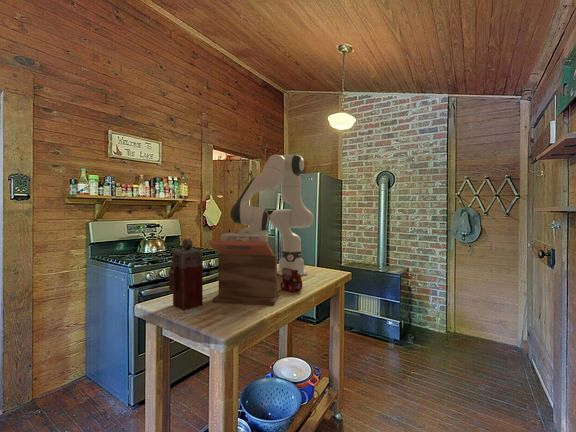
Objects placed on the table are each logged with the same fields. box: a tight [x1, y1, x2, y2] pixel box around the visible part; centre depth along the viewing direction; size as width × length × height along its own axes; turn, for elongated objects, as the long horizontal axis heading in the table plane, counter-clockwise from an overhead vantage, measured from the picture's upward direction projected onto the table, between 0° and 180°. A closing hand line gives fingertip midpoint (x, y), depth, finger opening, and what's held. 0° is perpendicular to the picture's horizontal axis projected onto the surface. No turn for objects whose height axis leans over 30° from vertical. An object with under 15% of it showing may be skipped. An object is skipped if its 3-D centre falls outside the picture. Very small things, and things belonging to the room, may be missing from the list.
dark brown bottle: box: [168, 238, 204, 311], centre depth 127 cm, size 9×11×28 cm
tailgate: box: [208, 240, 274, 255], centre depth 129 cm, size 2×24×15 cm
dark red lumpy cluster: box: [279, 268, 303, 293], centre depth 152 cm, size 7×12×10 cm, turn 47°
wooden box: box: [212, 253, 280, 306], centre depth 137 cm, size 14×27×20 cm, turn 82°
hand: (240, 240), depth 126 cm, fingers closed
